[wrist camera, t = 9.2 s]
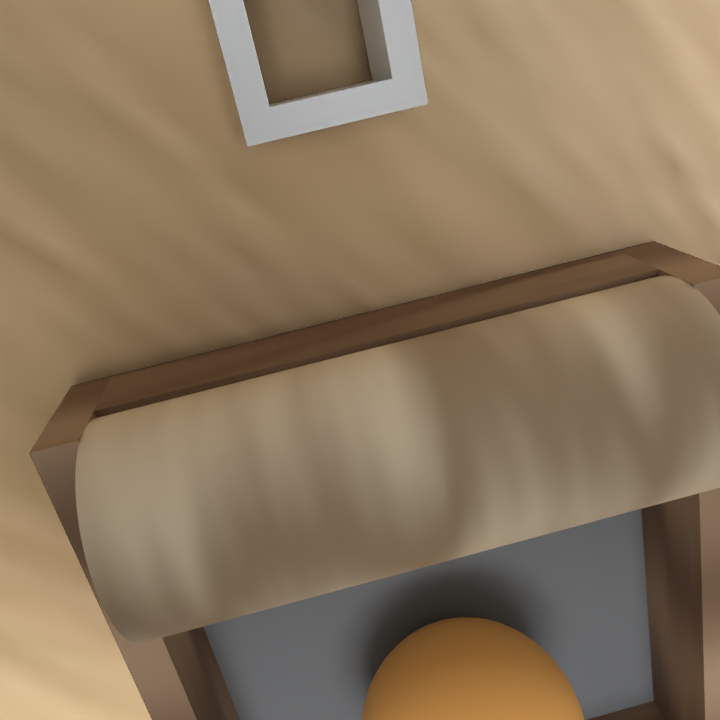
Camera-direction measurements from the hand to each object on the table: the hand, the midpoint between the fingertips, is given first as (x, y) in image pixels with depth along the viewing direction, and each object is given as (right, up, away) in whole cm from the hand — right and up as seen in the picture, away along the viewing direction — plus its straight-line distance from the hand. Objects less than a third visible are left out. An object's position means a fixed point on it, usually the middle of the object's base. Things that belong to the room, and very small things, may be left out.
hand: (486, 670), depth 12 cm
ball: (+1, -5, +7) cm, 8 cm away
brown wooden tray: (0, -1, +9) cm, 9 cm away
